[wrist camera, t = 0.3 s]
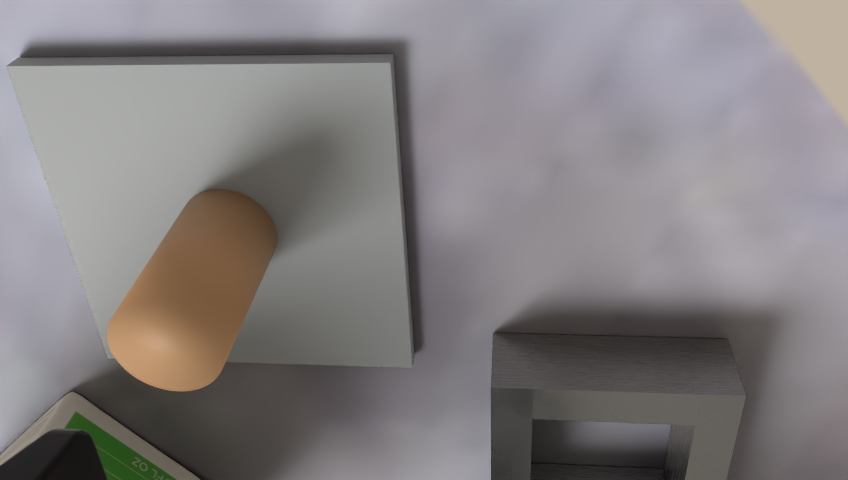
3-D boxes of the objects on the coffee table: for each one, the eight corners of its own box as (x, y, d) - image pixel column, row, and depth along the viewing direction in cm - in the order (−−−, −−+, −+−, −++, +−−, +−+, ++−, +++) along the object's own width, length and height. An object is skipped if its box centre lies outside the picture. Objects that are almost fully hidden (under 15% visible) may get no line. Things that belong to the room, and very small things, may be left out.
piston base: (414, 355, 26) (391, 498, 21) (114, 346, 27) (31, 481, 22) (393, 53, 20) (356, 158, 16) (18, 57, 21) (-121, 156, 17)
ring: (695, 493, 28) (708, 554, 26) (493, 484, 29) (491, 542, 27) (727, 339, 24) (746, 395, 22) (493, 332, 25) (490, 387, 23)
